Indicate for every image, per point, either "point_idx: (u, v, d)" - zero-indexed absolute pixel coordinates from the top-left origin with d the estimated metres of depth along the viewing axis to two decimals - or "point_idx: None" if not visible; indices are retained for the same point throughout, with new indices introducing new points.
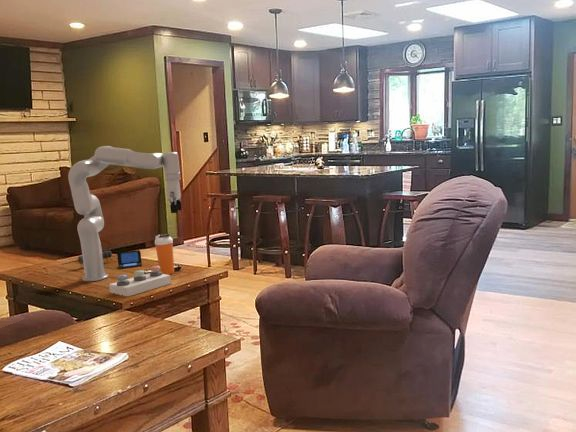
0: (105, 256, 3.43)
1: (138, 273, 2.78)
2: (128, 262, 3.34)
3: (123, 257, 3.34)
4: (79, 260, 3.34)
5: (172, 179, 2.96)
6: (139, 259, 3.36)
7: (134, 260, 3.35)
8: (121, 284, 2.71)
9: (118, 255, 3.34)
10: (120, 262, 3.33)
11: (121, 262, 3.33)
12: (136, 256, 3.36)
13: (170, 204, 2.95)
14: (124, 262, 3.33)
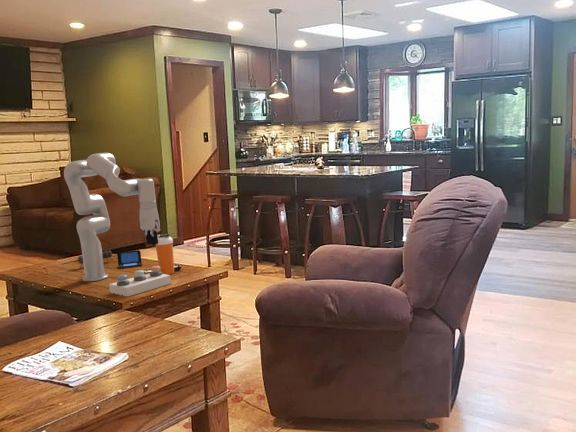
0: (105, 256, 3.44)
1: (138, 273, 2.78)
2: (128, 262, 3.34)
3: (123, 257, 3.35)
4: (79, 260, 3.35)
5: (154, 207, 2.81)
6: (139, 259, 3.36)
7: (134, 260, 3.35)
8: (121, 284, 2.71)
9: (118, 255, 3.34)
10: (120, 262, 3.33)
11: (121, 262, 3.33)
12: (136, 256, 3.36)
13: (153, 236, 2.82)
14: (124, 262, 3.33)
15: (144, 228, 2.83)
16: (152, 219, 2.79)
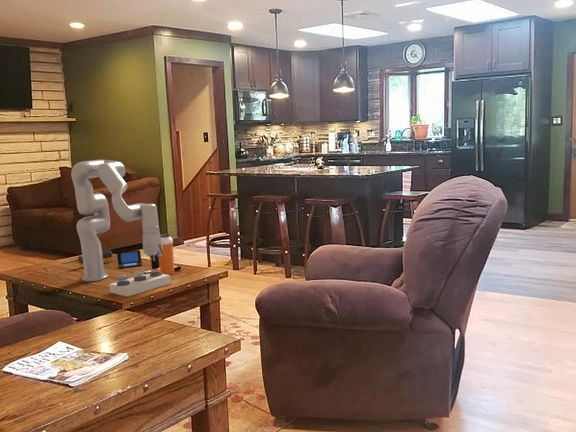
0: (105, 256, 3.44)
1: (138, 273, 2.78)
2: (128, 262, 3.34)
3: (123, 257, 3.35)
4: (79, 260, 3.35)
5: (157, 232, 2.82)
6: (139, 259, 3.36)
7: (134, 260, 3.35)
8: (121, 284, 2.71)
9: (118, 255, 3.34)
10: (120, 262, 3.33)
11: (121, 262, 3.33)
12: (136, 256, 3.36)
13: (154, 260, 2.84)
14: (124, 262, 3.33)
15: (147, 253, 2.84)
16: (155, 244, 2.80)
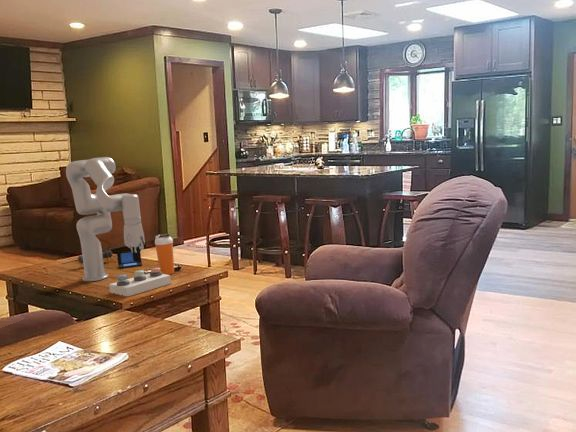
0: (105, 256, 3.44)
1: (138, 273, 2.78)
2: (128, 262, 3.34)
3: (123, 257, 3.35)
4: (79, 260, 3.36)
5: (138, 223, 2.75)
6: None
7: None
8: (121, 284, 2.71)
9: (118, 255, 3.35)
10: (120, 262, 3.33)
11: (121, 262, 3.33)
12: None
13: (136, 253, 2.77)
14: (124, 262, 3.34)
15: (128, 245, 2.77)
16: (137, 236, 2.73)
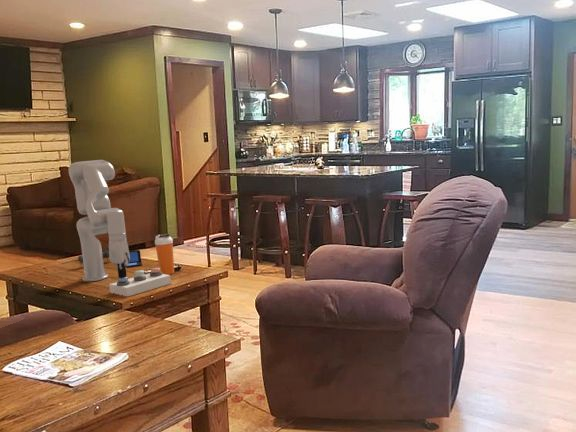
0: (105, 256, 3.44)
1: (138, 273, 2.78)
2: (128, 262, 3.34)
3: None
4: (79, 259, 3.36)
5: (123, 239, 2.69)
6: (139, 259, 3.36)
7: (134, 260, 3.36)
8: (121, 284, 2.71)
9: None
10: None
11: None
12: (136, 256, 3.37)
13: (121, 269, 2.71)
14: None
15: (113, 261, 2.71)
16: (121, 252, 2.67)
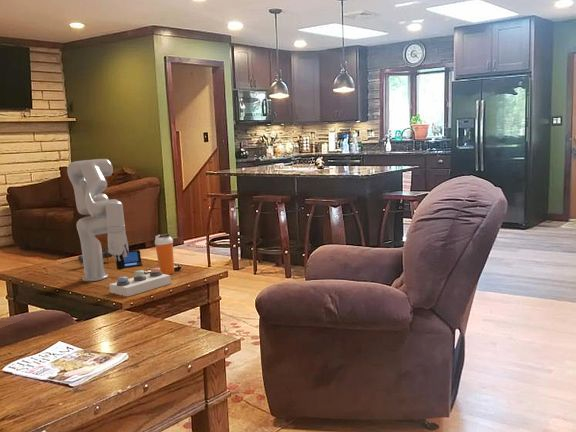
0: (106, 256, 3.44)
1: (138, 273, 2.78)
2: (128, 262, 3.34)
3: None
4: (79, 259, 3.36)
5: (122, 231, 2.69)
6: (139, 259, 3.36)
7: (134, 260, 3.36)
8: (121, 284, 2.71)
9: None
10: None
11: None
12: (136, 256, 3.37)
13: (119, 261, 2.71)
14: (124, 262, 3.34)
15: (112, 253, 2.71)
16: (120, 244, 2.67)
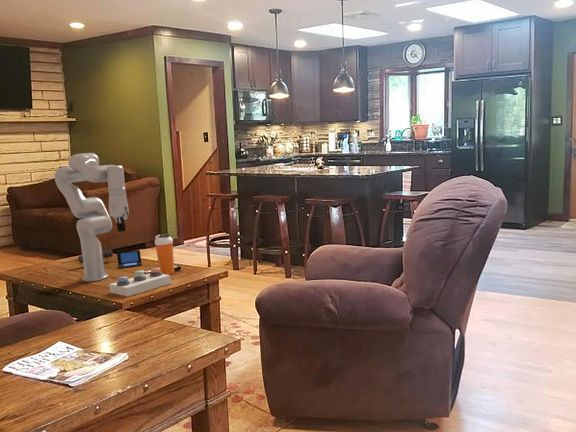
0: (106, 256, 3.44)
1: (138, 273, 2.78)
2: (128, 262, 3.34)
3: (123, 257, 3.35)
4: (79, 259, 3.37)
5: (123, 194, 2.79)
6: (139, 259, 3.37)
7: (134, 260, 3.36)
8: (121, 284, 2.71)
9: (118, 255, 3.35)
10: (120, 262, 3.33)
11: (121, 262, 3.33)
12: (136, 256, 3.37)
13: (120, 223, 2.81)
14: (124, 262, 3.34)
15: (113, 215, 2.81)
16: (121, 206, 2.77)
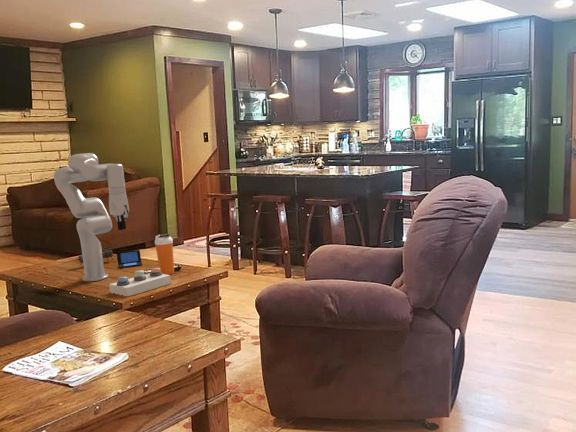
0: (106, 256, 3.45)
1: (138, 273, 2.78)
2: (128, 262, 3.34)
3: (123, 256, 3.35)
4: (79, 259, 3.37)
5: (123, 192, 2.79)
6: (139, 259, 3.37)
7: (134, 260, 3.36)
8: (121, 284, 2.71)
9: (118, 255, 3.35)
10: (120, 262, 3.33)
11: (121, 262, 3.34)
12: (136, 256, 3.37)
13: (120, 221, 2.82)
14: (124, 262, 3.34)
15: (113, 213, 2.82)
16: (121, 204, 2.78)
